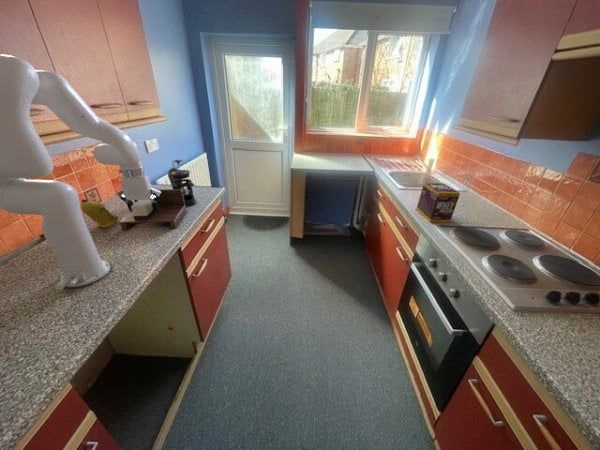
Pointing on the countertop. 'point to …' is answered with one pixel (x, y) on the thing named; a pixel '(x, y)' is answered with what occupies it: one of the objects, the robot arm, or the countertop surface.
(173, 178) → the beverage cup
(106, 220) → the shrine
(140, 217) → the beige cuboid
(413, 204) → the countertop surface
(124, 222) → the shoe shelf
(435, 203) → the supplement box
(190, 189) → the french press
